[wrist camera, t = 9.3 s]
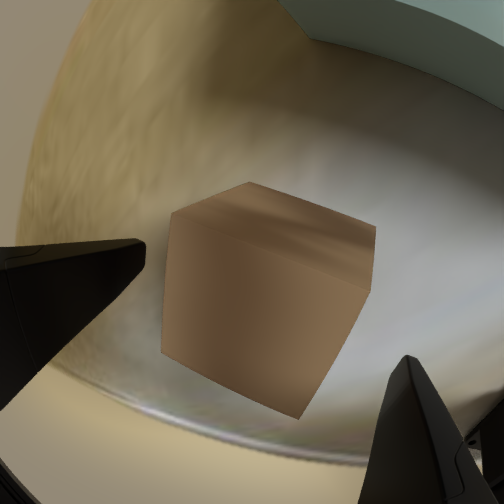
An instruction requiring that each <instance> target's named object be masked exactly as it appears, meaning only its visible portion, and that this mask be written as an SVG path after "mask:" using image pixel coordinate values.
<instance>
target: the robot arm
mask: <svg viewBox="0 0 504 504" xmlns="http://www.w3.org/2000/svg"><path fill="white" fill-rule="evenodd" d="M145 258H146V244H145V243H144V242H143V241H141V240H139V239H136V238H131V239H116V240H101V241H87V242H74V243H60V244H48V245H35V246H18V247H0V411H1V410H2V409H3V408H4V407H5V406H6V405H7V404H8V403H9V402H10V401H11V400H12V399H13V398H14V397H15V396H16V395H17V394H18V393H19V391H20V390H22V389H23V387H24V386H25V385H26V384H27V383H28V382H29V381H30V380H31V379H32V378H33V377H34V376H35V375H36V374H37V372H39V371H40V370H41V369H42V368H43V367H44V366H45V365H46V364H47V363H48V362H49V361H50V360H51V359H52V358H53V357H54V356H55V355H56V354H57V353H58V352H59V351H60V350H61V349H62V348H63V347H65V346H66V345H67V344H68V343H69V342H70V341H71V340H72V339H73V338H74V337H75V336H76V335H77V334H78V333H79V332H80V331H81V330H82V329H83V328H85V327H86V326H87V325H88V324H89V323H90V322H91V321H92V320H93V319H94V318H95V317H96V316H98V315H99V314H100V313H101V312H102V311H103V310H104V309H105V308H106V307H107V306H108V305H110V304H111V303H112V302H113V301H114V300H115V299H116V298H117V297H118V296H119V295H120V294H121V293H122V292H123V291H124V290H125V288H126V287H127V286H128V285H129V284H130V283H131V282H132V281H133V280H134V279H135V277H136V276H137V275H138V274H139V273H140V272H141V271H142V270H143V268H144V266H145ZM468 448H472V449H477V450H481V455H482V473H483V475H482V474H481V472H480V470H479V468H478V467H477V465H476V463H475V461H474V459H473V457H472V455H471V453H470V452H469V450H468ZM0 504H41V503H40V502H39V501H38V500H37V499H36V498H35V497H34V496H33V495H32V494H31V493H30V492H29V490H28V489H27V488H26V487H25V486H24V485H23V484H22V483H21V482H20V481H19V480H18V478H17V477H16V476H15V475H14V474H13V473H12V472H11V470H10V469H9V468H8V467H7V466H6V465H5V463H4V462H3V461H2V459H1V458H0ZM358 504H504V399H503V400H502V401H501V402H500V403H499V404H498V406H497V407H496V408H495V409H494V410H493V411H492V412H491V413H490V414H489V415H488V416H487V417H486V418H485V419H484V420H483V421H482V422H481V423H480V424H479V425H478V426H476V427H475V428H474V429H473V430H472V431H471V432H470V433H469V434H468V435H467V436H466V437H465V438H464V441H463V438H462V436H461V434H460V432H459V430H458V428H457V426H456V425H455V423H454V421H453V419H452V417H451V415H450V413H449V412H448V410H447V408H446V406H445V404H444V403H443V401H442V399H441V397H440V396H439V394H438V392H437V390H436V389H435V387H434V385H433V384H432V382H431V380H430V378H429V377H428V375H427V373H426V372H425V370H424V368H423V367H422V365H421V363H420V362H419V360H418V359H417V358H415V357H412V356H410V355H405V356H404V357H403V358H402V359H401V361H400V362H399V363H398V365H397V366H396V368H395V369H394V370H393V372H392V373H391V375H390V378H389V381H388V385H387V388H386V392H385V396H384V399H383V403H382V406H381V410H380V413H379V417H378V420H377V425H376V430H375V435H374V440H373V445H372V449H371V454H370V458H369V463H368V467H367V471H366V475H365V479H364V483H363V486H362V490H361V493H360V497H359V500H358Z"/></svg>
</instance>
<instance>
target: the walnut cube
mask: <svg viewBox="0 0 504 504" xmlns="http://www.w3.org/2000/svg"><path fill="white" fill-rule="evenodd" d="M375 236H376V226H373V225H370V224H368V223H365V222H363V221H360V220H358V219H355V218H352V217H350V216H347V215H344V214H342V213H339V212H336V211H334V210H331V209H328V208H325V207H323V206H320V205H317V204H314V203H311V202H309V201H306V200H303V199H300V198H297V197H294V196H291V195H288V194H285V193H282V192H279V191H276V190H273V189H270V188H267V187H264V186H261V185H258V184H255V183H252V182H248V183H245V184H243V185H240V186H237V187H235V188H232V189H230V190H227V191H225V192H222V193H220V194H217V195H214V196H212V197H210V198H207V199H205V200H202V201H200V202H197V203H195V204H192V205H190V206H188V207H185V208H183V209H180V210H178V211H176V212H173V213H171V221H170V230H169V240H168V250H167V261H166V272H165V285H164V300H163V318H162V341H161V353H163V354H165V355H166V356H168V357H170V358H172V359H173V360H175V361H177V362H179V363H180V364H182V365H184V366H186V367H188V368H190V369H191V370H193V371H195V372H197V373H199V374H201V375H203V376H204V377H206V378H208V379H210V380H212V381H214V382H216V383H218V384H220V385H222V386H224V387H226V388H228V389H230V390H232V391H234V392H236V393H238V394H240V395H243V396H245V397H247V398H249V399H251V400H253V401H255V402H258V403H260V404H262V405H264V406H267V407H269V408H271V409H274V410H276V411H278V412H281V413H283V414H285V415H288V416H290V417H293V418H295V419H298V420H299V418H300V417H301V415H302V414H303V412H304V411H305V409H306V407H307V406H308V404H309V403H310V401H311V400H312V398H313V396H314V395H315V393H316V391H317V390H318V388H319V386H320V385H321V383H322V381H323V380H324V378H325V376H326V375H327V373H328V371H329V369H330V368H331V366H332V364H333V362H334V361H335V359H336V357H337V355H338V354H339V352H340V350H341V348H342V346H343V344H344V343H345V341H346V339H347V337H348V335H349V333H350V331H351V329H352V327H353V325H354V324H355V322H356V320H357V318H358V316H359V314H360V312H361V310H362V308H363V306H364V303H365V301H366V299H367V297H368V295H369V293H370V290H371V281H372V272H373V261H374V250H375Z"/></svg>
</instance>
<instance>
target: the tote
mask: <svg viewBox="0 0 504 504" xmlns="http://www.w3.org/2000/svg"><path fill="white" fill-rule="evenodd" d="M277 1H278V2H279V3H280V4H281V5H282V6H283V7H284V8H285V10H286V11H287V12H288V13H289V14H290V15H291V16H292V18H293V19H294V20H295V21H296V22H297V23H298V25H299V26H300V27H301V28H302V29H303V31H304V32H305V33H306V34H307V36H308V37H309V38H310V39H315V40H320V41H325V42H329V43H334V44H338V45H342V46H346V47H350V48H354V49H358V50H361V51H365V52H368V53H372V54H375V55H378V56H381V57H385V58H388V59H391V60H394V61H397V62H399V63H402V64H405V65H408V66H411V67H413V68H416V69H418V70H421V71H424V72H426V73H429V74H431V75H433V76H436V77H438V78H440V79H443V80H445V81H447V82H449V83H452V84H454V85H456V86H458V87H460V88H462V89H464V90H466V91H468V92H470V93H472V94H474V95H476V96H478V97H480V98H482V99H484V100H486V101H488V102H489V103H491V104H493V105H495V106H496V107H498V108H500V109H502V110H503V111H504V0H277Z"/></svg>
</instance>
